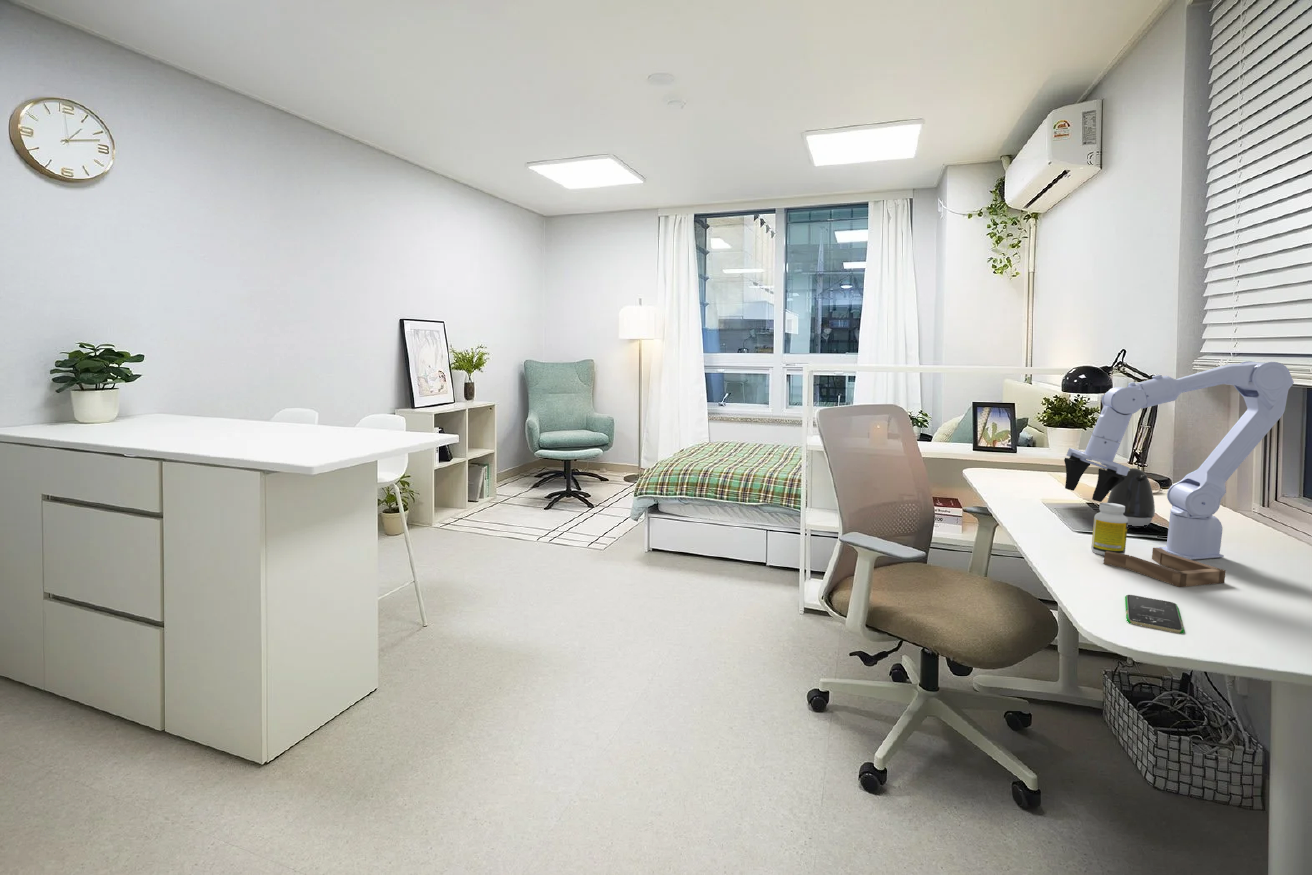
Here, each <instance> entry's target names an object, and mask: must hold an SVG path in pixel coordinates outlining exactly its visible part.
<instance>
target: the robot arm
mask: <svg viewBox="0 0 1312 875" xmlns="http://www.w3.org/2000/svg"><path fill="white" fill-rule="evenodd" d="M1127 384H1128V385H1127V386H1126V387H1124V386H1114V387H1112V388H1110V389H1109V390H1108V391H1106V392H1105V394H1103V395H1102V396H1101V404H1102V409H1101V412H1100V414H1099V415H1098V418H1097V420H1096V423H1095V426H1094V428H1093V431H1092V433H1091V434H1090V435H1091V436H1090V438H1089V440H1088V442H1087V445H1086V448H1085V450H1084V451H1081V450H1078V449H1075V448H1072V447H1069V448H1068V450H1067V453H1066V455H1065V456H1067V457H1064V459H1063V460H1064V466H1065V471H1066V472H1065V475H1066V476H1065V487H1064V489H1066V490H1069V491H1076V490H1075V489H1076V488H1077V486H1078V485H1079V482H1080V480H1081V478H1082V476H1083V474H1084V473H1085V471H1086V470H1087V469H1088V468H1089V467H1090V465H1093V466H1096V467H1099V468H1098V471H1097V473H1098V475H1097V482H1096V486H1095V489H1094V491H1093V494H1092V498H1091V500H1093V501H1094V502H1099V503H1103V501H1104V499H1105V498H1106V497H1107V495H1108V494H1110V492H1111V490H1112V489H1113V488H1114V487H1115V486H1116V485H1117V484H1119V483H1120V482H1122V481H1123V480H1124V479H1125V477H1124V476H1122V475H1125V476H1127V473H1128V471H1129V469H1130V468H1131V467H1130V466H1125V465H1123V464H1121V463H1118V462H1116V461H1114V460H1115V458H1116V454H1117V452H1118V450H1119V448H1120V446H1121V442H1122V440H1123V438H1124V436H1125V434H1126V431H1127V429H1128V426H1129V423H1130V420H1131V418H1132V416H1133V415H1134V414H1135V413H1137V412H1138V411H1140V410H1141V409H1146V408H1150V407H1154V406H1158V405H1162V404H1166V403H1170V402H1175V401H1176V400H1177V399H1178V398H1179V396H1180V395H1181V394H1183V393H1188V392H1192V391H1196V390H1202V389H1207V388H1211V387H1215V386H1221V385H1227V386H1232V387H1234V388H1235V390H1236V391H1237V392H1238V393H1239V394H1240V395H1241V397H1243V400H1244V403H1245V406H1246V408H1247V409H1246V410H1245V412H1244V413H1243V414H1242V415H1241V416H1240V418H1239V419H1238V420H1237V421H1236V423H1235V424H1234V425H1233V426H1232V427H1231V429H1230V430H1229V431H1228V432H1227V433H1226V434H1225V436H1224V437H1223V438H1222V439H1221V441H1220V442H1219V443H1218V444H1217V445H1216V446H1215V448H1214V449H1213V450H1212V451H1211V452H1210V454H1208V456H1207V457H1206V459H1205V460H1204V461H1203V462H1202V463H1201V465H1200V466H1199V467H1198V468H1197V469H1196V470H1193V471H1192V472H1189V473H1187V474H1186V475H1185V476H1184V477H1183V478H1182V479H1181V480H1179V481H1177V482H1175V483H1173V484H1172V485H1170V487H1169V488H1168V489H1167V492H1166V499H1167V501H1168V503H1169V504H1170V505H1171V508H1170V511H1169V522H1168V528H1167V541H1166V546H1156V547H1155V548H1162V549H1163V550H1165V551H1166V552H1168V553H1170V554H1173V555H1176V556H1180V557H1183V558H1186V559H1190V560H1193V561H1194V560H1205V559H1206V560H1207V559H1216V558H1224V554H1221V546H1222V536H1223V525H1222V522H1221V521H1220V519H1219V518H1217V517H1216V516H1215V513H1217V512H1218V510H1219V509H1220V507H1221V501H1222V498H1223V497H1224V496H1225V495H1226V494H1227V490H1226V483H1227V481H1228V480H1229V479H1230V478H1231V477H1232V475H1233V474H1234V473H1235V472H1236V470H1237V469H1238V468H1239V467H1240V466H1241V465H1242V463H1243V462H1245V460H1246V459H1247V457H1248V456H1249V455H1250V454H1251V453H1252V451H1254V449H1256V447H1257V446H1258V445H1259V444H1260V442H1261V441H1262V440H1263V438H1265V436H1266V435H1267V434H1268V433H1269V431H1271V429H1272V428H1273V427H1274V426H1275V424H1277V423H1278V421H1279V420H1280V419H1281V417H1282V416H1283V415H1284V413H1285V412H1286V405H1287V401H1288V394H1289V390H1290V389H1291V387H1292V386H1293V385H1294V379H1293V376H1292V375H1291V371H1289V368H1288V367H1287V365H1284V364H1283V363H1281V362H1278V361H1267V362H1265V361H1264V362H1261V361H1260V362H1259V361H1250V360H1248V361H1247V360H1246V361H1242V362H1240V363H1228V364H1225V365H1221V366H1217V367H1214V368H1210V369H1206V370H1203V371H1200V372H1196V373H1193V374H1190V375H1189V374H1188V375H1185V376H1181V377H1179V378H1173V377H1171V376H1169V375H1162V374H1155V375H1152V378H1151V379H1148V380H1144V381H1140V382H1135V381H1131V382H1129V383H1127ZM1094 461H1095V462H1094ZM1099 463H1100V464H1099Z"/></svg>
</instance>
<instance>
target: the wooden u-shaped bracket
mask: <svg viewBox="0 0 1312 875" xmlns="http://www.w3.org/2000/svg"><path fill="white" fill-rule="evenodd" d="M1103 558H1104V559H1103V564H1104V565H1107V566H1112V567H1117V568H1123V569H1126V570H1129V571H1132V572H1135V573H1137V574H1141V575H1143V576H1147V577H1149V578H1153V579H1156V580H1159V581H1160V582H1165V583H1167V584H1169V585H1173V586H1175V587H1178V588H1183V587H1194V586H1195V587H1196V586H1204V585H1206V586H1207V585H1216V584H1218V585H1219V584H1225V581H1226V573H1227V572H1226V571H1227V570H1225V569H1222V568H1218V567H1215V566H1212V565H1209V564H1205V563H1202V562H1200V561H1196V560H1194V559H1193V560H1190V559H1186V558H1183V557H1180V556H1176V555H1173V554H1170V553H1168V552H1166V551H1165V550H1163V549H1162V548H1156V547H1152V555H1151V560H1153V561H1154V562H1151V561H1148V560H1146V559H1144V558H1143V559H1142V558H1139V557H1136V556H1134V555H1129V554H1120V553H1115V552H1110V551H1106V552H1105V555H1104V557H1103ZM1155 562H1156V563H1155Z"/></svg>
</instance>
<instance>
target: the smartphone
mask: <svg viewBox="0 0 1312 875" xmlns="http://www.w3.org/2000/svg"><path fill="white" fill-rule="evenodd" d="M1124 600H1125V601H1124V602H1125V603H1124V605H1125V618H1126V619H1127V620H1126V619H1125V620H1126V622H1127V621H1128V622H1129V623H1128V622H1127V623H1128V624H1130V623H1132V624H1131V625H1134V624H1137V625H1136V626H1138V625H1142V626H1141V627H1144V626H1146V627H1145V628H1149V627H1150V629H1154V628H1155V629H1154V630H1159V629H1162V630H1161V631H1164V630H1166V631H1165V632H1169V631H1171V632H1170V633H1176V634H1185V629H1184V626H1183V623H1182V616H1181V613H1180V610H1179V606H1178V604H1177V603H1175V602H1172V601H1167V600H1162V599H1156V598H1151V597H1145V596H1139V595H1135V594H1127V595H1125V596H1124Z"/></svg>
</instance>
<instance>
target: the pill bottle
mask: <svg viewBox="0 0 1312 875" xmlns="http://www.w3.org/2000/svg"><path fill="white" fill-rule="evenodd" d="M1098 507H1099V512H1097V513H1095V514H1094V517H1093V526H1092V527H1093V528H1092V539H1091V551H1092V552H1093V553H1094V554H1096V555H1100V556H1104V555H1105V552H1106V551H1110V552H1115V553H1120V554H1125V553H1126V545H1127V535H1128V528H1127V527H1128V519H1127V517H1126V516H1124V515H1123V513H1125V506H1123V505H1120V504H1115V503H1107V502H1099V506H1098Z"/></svg>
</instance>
